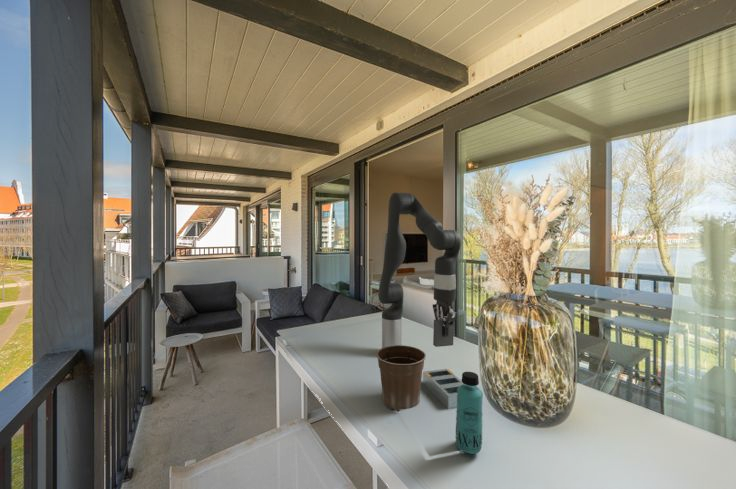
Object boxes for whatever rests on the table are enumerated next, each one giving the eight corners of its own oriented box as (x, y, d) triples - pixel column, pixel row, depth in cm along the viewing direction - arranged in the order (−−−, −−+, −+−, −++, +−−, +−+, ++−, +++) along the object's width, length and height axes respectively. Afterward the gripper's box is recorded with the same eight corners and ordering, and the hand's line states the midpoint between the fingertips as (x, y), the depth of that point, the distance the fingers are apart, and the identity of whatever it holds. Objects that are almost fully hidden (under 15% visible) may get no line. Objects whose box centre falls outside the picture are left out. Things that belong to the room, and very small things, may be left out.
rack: (422, 385, 112) (423, 370, 112) (446, 381, 115) (446, 368, 115) (448, 412, 95) (448, 395, 95) (475, 407, 97) (475, 391, 97)
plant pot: (392, 421, 90) (393, 367, 89) (367, 396, 104) (367, 349, 104) (435, 407, 97) (436, 358, 97) (406, 385, 111) (407, 342, 111)
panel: (433, 344, 107) (433, 319, 107) (450, 343, 109) (451, 318, 109) (435, 346, 105) (436, 321, 105) (453, 345, 107) (454, 320, 107)
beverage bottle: (451, 443, 80) (452, 368, 80) (475, 442, 81) (476, 367, 80) (461, 461, 74) (462, 380, 73) (487, 459, 74) (488, 379, 74)
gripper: (426, 283, 112) (425, 329, 113) (445, 290, 99) (443, 343, 99) (444, 283, 114) (443, 328, 115) (465, 290, 101) (463, 341, 101)
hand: (443, 335), depth 107 cm, fingers closed on panel, 1 cm apart
